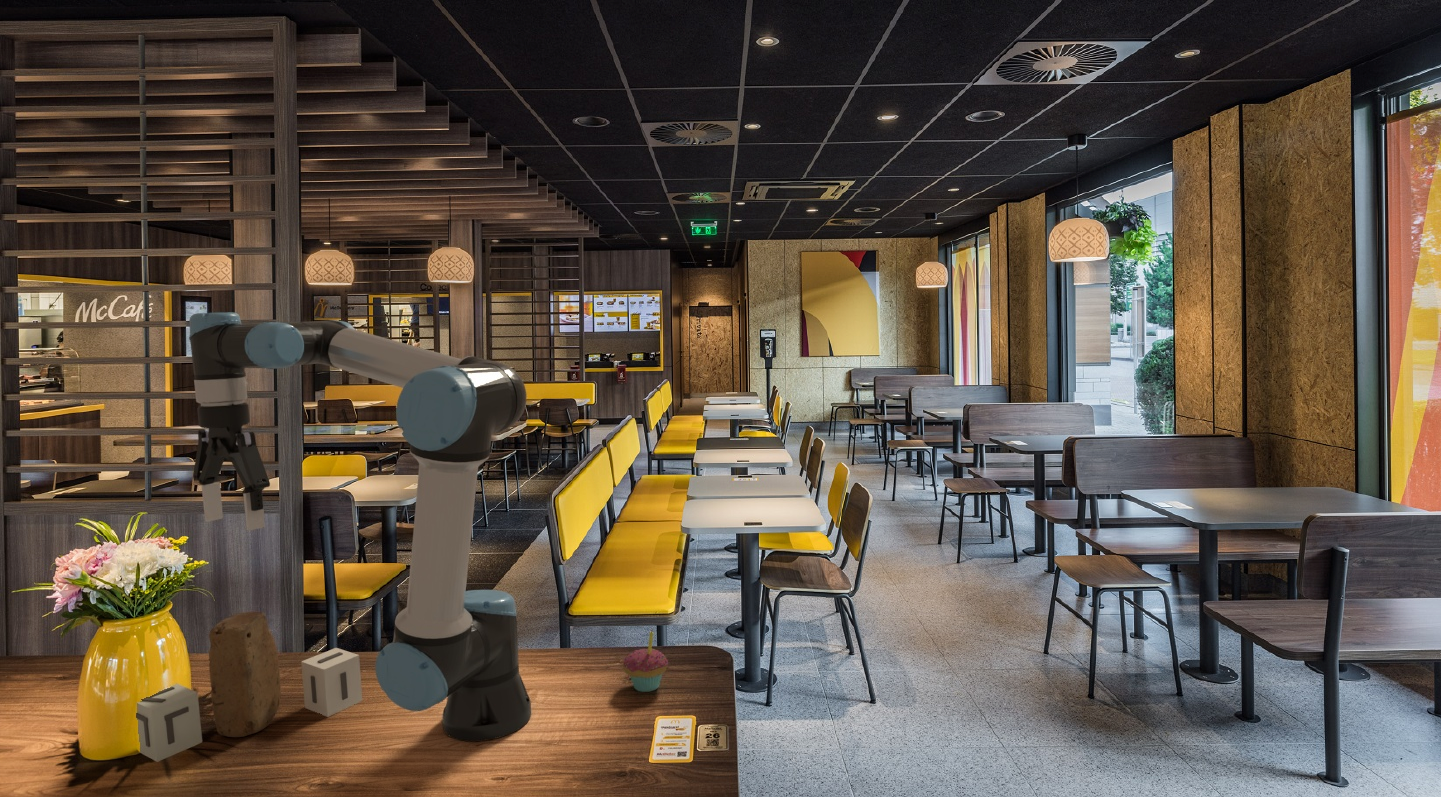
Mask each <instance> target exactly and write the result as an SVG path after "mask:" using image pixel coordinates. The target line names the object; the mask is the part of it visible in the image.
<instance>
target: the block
mask: <svg viewBox="0 0 1441 797" xmlns="http://www.w3.org/2000/svg"><path fill="white" fill-rule="evenodd" d="M208 638H209V641H210V647H209V650H208V662H209V663H208V664H209V665H208V666H209V668H208V670H209V681H210V682H209V683H210V688H211V689H210V691H211V692H210V694H211V695H210V696H211V697H210V698H211V703H212V713H213V718H214V722H215V726H216V731H217V733H218V734H219V735H220V736H225V737H230V738H244V737H246V736H249V735H253V734H256V733H258V732H261V731H263V730H264V729H265V728H267V727H268V726H270V724H271V722H272V721H273V720H274V718H275V716H276V714H277V712H278V709H279V705H280V704H281V703H280V702H281V694H282V693H281V692H282V691H281V688H282V687H281V678H280V677H281V674H280V662H279V655H278V654H279V653H278V649H277V645H276V641H275V637H274V635H273V634H272V631H271V630H270V629H269V624H268V619H267V615H266V614H265V613H264V612H261V611H258V610H257V611H245V612H235V613H234V614H232V615H230V616H229V617H227V618H224V619H222V620H220V621H219V622H218V623H217V624H215V625H214V626H213V628H212V629H210V631H209V633H208Z"/></svg>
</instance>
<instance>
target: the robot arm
mask: <svg viewBox="0 0 1441 797" xmlns="http://www.w3.org/2000/svg"><path fill="white" fill-rule="evenodd" d="M188 336H189V337H188V340H189V341H190V350H191V358H192V360H191V361H192V368H193V375H194V379H193V381H194V383H193V384H194V392H195V393H194V394H195V402H196V403H198V404H200V405H199V406H198V407H197V417H198V418H197V420H198V426H199V427H200V428H202V429H199V430H198V431H197V436H198V437H197V439H198V440H197V441H198V443H197V449H196V455H195V461H194V468H193V473H192V478H193V480H194V481H197V480H198V483H199V485H200V486H201V493H202V504H203V512H204V513H203V514H204V522H206V523H208V522H209V523H210V522H213V521H214V522H215V521H217V520H221V519H224V514H223V513H224V512H223V503H222V502H223V501H222V493H221V492H222V491H221V483H220V482H221V479H220V478H219V474H220V472H221V469H222V468H223V467H222V466H223V464H224V461H225V459H226V460H227V462H230V463H231V464H232V466H233V468H234V469H235V470H234V471H236V473H237V475H238V477H239V479H240V481H241V483H242V485H243V487H244V488H243V490H242V494H243V495H242V496H243V504H244V505H243V506H244V515H245V524H246V525H245V526H246V531H249V532H250V531H254V530H258V529H263V528H264V529H265V528H266V523H265V522H266V521H265V511H264V509H265V508H264V500H263V498H264V497H263V490H264V489H266V488H269V487H270V485H271V481H270V479H269V477H268V473H267V470H266V468H265V465H264V463H263V460H262V457H261V454H260V452H259V449H258V447H257V443H256V442H257V441H256V434H255V432H254V431H249V432H244V431H243V426H246V425H248V424H249V423H250V421H251V420H250V419H251V416H250V409H249V404H248V403H247V402H245V401H246V400H247V399H248V392H247V391H248V390H247V387H248V384H249V383H248V382H247V380H246V375H247V374H246V371H245V370H246V369H267V370H274V369H275V370H276V369H285V368H290V367H292V366H293V367H294V366H302V365H303V366H304V365H314V364H315V365H316V364H320V365H325V366H328V367H331V368H334V369H337V370H338V369H339V370H342V371H345V372H349V373H352V374H356V375H359V376H362V377H365V378H369V379H372V380H376V381H379V382H382V383H385V384H389V385H391V386H395V387H398V388H402V390H401V391H400V394H399V396H398V399H397V402H396V403H397V404H396V410H395V413H396V415H395V417H396V422H397V423H396V424H397V427H398V428H399V429H401V431H402V433H401V435H402V437H403V438H404V439H405V441H406V442H407V443H408V444H410V445H409V453H410V455H411V456H412V457H413V458H414V459H415V460H416V461H417V463H418V475H417V476H418V477H417V487H416V499H415V509H414V523H413V533H412V545H411V556H410V566H409V580H408V591H407V602H406V607H405V608H403V609H402V610H401V611H399V612H398V613H397V615H396V617H395V620H394V630H393V640H392V642H389V643H387V644H386V645H385V646H383V648H382V649H381V650H380V651H379V653H378V654H377V656H376V659H375V665H374V666H375V668H374V669H375V676H376V679H377V682H378V684H379V686H380V689H381V690H382V691H383V692H384V693H385V694H386V696H387V698H388V699H389V700H390V701H391V702H393V704H395V705H396V706H399V707H400V708H402V709H404V710H407V711H411V712H422V711H425V710H428V709H430V708H431V707H433V706H436V704H440V703H443V701H444V700H446V704H445V706H444V708H443V712H442V717H441V718H442V728H443V732H444V733H445V734H446V735H447V736H448V737H450V738H453V739H455V740H459V741H465V742H479V741H480V742H482V741H490V740H495V739H498V738H499V739H500V738H502V737H505V736H508V735H510V734H513V733H515V732H516V731H518V730H520V729H522V728H523V727H525V725H526V724H527V723H528V722H529V721H530V719H531V717H532V702H531V698H530V696H529V694H528V691H527V689H526V686H525V683H524V681H523V679H522V676H521V674H520V664H519V642H518V626H517V622H518V621H517V616H518V613H517V608H516V602H515V598H514V597H513V596H512V595H511V594H510V593H508V592H507V591H504V590H503V591H502V590H495V589H472V590H467V580H468V570H469V563H470V562H469V560H470V552H471V551H470V549H471V543H472V542H471V541H472V531H473V520H474V511H475V503H476V502H475V500H476V491H477V482H478V481H477V480H478V472H479V471H478V470H479V467H480V466H481V465H482V464H484V462H486V461H487V460H488V459H489V458H490V453H491V446H492V444H491V443H492V435H495V434H500V433H503V432H505V431H507V430H508V429H510V428H512V427H513V426H514V425H515V424H516V423H517V422H519V420H520V418H521V417H522V415H523V414H524V411H525V409H526V405H527V391H526V390H527V389H526V387H525V383H524V381H523V379H522V378H521V376H520V375H519V374H518V373H517V371H516V370H515V369H514V368H512V367H511V366H508V365H507V364H504V363H502V362H498V361H494V360H490V359H485V358H482V357H477V356H474V355H468V356H465V357H463V358H458V357H454V356H452V355H448V354H445V353H442V352H441V353H440V352H437V351H433V350H430V349H426V348H422V347H418V346H415V345H411V344H409V343H404V342H401V341H396V340H393V339H389V338H387V337H382V336H379V335H376V334H371V333H368V332H365V331H361V330H357V329H356V328H354V327H353V326H352V324H351V323H349V322H346V321H343V320H335V319H327V320H318V321H317V320H314V321H287V322H286V321H284V322H283V321H281V322H279V321H271V322H270V321H266V322H265V321H264V322H254V323H253V322H252V323H242V321H241V317H240V314H239V313H237V312H200V313H199V312H198V313H193V314H192V315H190V317H189V335H188ZM446 698H447V699H446Z"/></svg>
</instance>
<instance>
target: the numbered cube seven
mask: <svg viewBox="0 0 1441 797" xmlns="http://www.w3.org/2000/svg"><path fill="white" fill-rule="evenodd" d="M174 684H175V685H173V684H172V685H173V686H171V685H170V686H171V687H170V688H167V689H164V690H162V691H159V692H158V693H156V694H154V695H152V696H150V697H146V698H144V699H141V700H142V701H140V702H137V713H136V718H137V720H138V734H139V742H140V752H139V753H140V754H142V755H143V756H146V757H147V758H149V759H152V761H155V762H157V763H158V762H160V761H163V760H165V759H167V758H170V757H172V756H174V755H177V754H178V753H181V752H183V751H186V750H188V749H190V748H194V747H195V746H197V745H200V744H201V743H203V735H202V728H201V727H202V725H201V715H200V706H199V705H200V704H199V696H198V693H199V692H198V691H195V690H193V689H192V688H188V687H186V686H184V685H181V684H179V683H174Z"/></svg>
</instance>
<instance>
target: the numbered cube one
mask: <svg viewBox="0 0 1441 797" xmlns="http://www.w3.org/2000/svg"><path fill="white" fill-rule="evenodd" d="M360 665H361V664H360V655H359V654H356V653H354V652H350V651H347V650H344V649H341V648H338V647H334V648H332V649H330V650H328V651H324V652H322V653H319V654H317V655H315V656H311V657H309V658H307V659H304V660H302V661H301V665H300V666H301V673H302V675H301V676H302V687H303V688H302V689H303V699H304V709H307V710H310V711H311V712H314V711H315V713H316V712H317V713H316V714H319V713H320V714H319V715H321V714H322V716H324V717H327V718H329V717H331V716H333V715H335V714H338V713H339V711H340V712H342V711H344V710H346V709H349V708H350V707H352V706H355V705H357V704H359V703H361V702H363V693H362V692H363V690H362V676H361V666H360ZM354 704H355V705H354Z"/></svg>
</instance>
